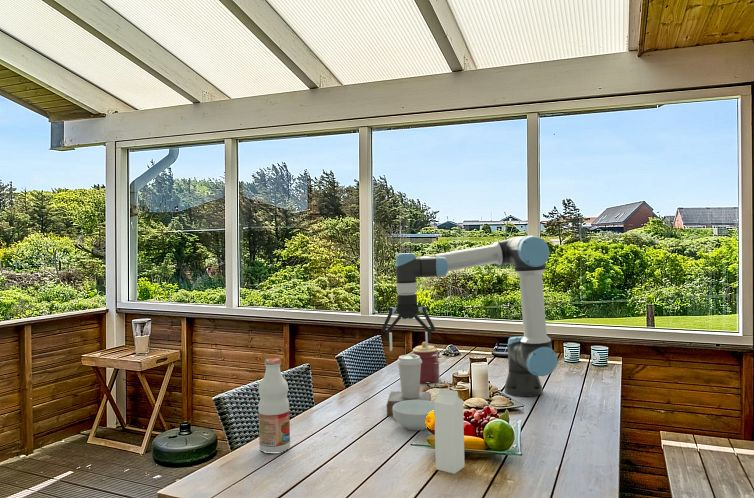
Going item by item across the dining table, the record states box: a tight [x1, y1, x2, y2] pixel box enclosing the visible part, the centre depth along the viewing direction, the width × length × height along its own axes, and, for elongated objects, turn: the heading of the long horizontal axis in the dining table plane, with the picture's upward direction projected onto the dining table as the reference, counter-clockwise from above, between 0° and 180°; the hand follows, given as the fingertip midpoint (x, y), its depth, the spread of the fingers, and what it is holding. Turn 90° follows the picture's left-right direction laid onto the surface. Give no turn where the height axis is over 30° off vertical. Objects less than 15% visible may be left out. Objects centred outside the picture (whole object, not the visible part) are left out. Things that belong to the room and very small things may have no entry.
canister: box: [410, 341, 440, 384], centre depth 253 cm, size 13×13×18 cm
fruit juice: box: [258, 357, 291, 453], centre depth 172 cm, size 9×9×28 cm
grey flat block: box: [386, 391, 432, 417], centre depth 209 cm, size 16×14×5 cm
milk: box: [433, 388, 466, 475], centre depth 154 cm, size 6×6×22 cm
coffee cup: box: [396, 354, 422, 399], centre depth 208 cm, size 10×10×15 cm
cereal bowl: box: [392, 400, 434, 431], centre depth 190 cm, size 17×17×7 cm
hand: (409, 350), depth 208 cm, fingers open, 13 cm apart
